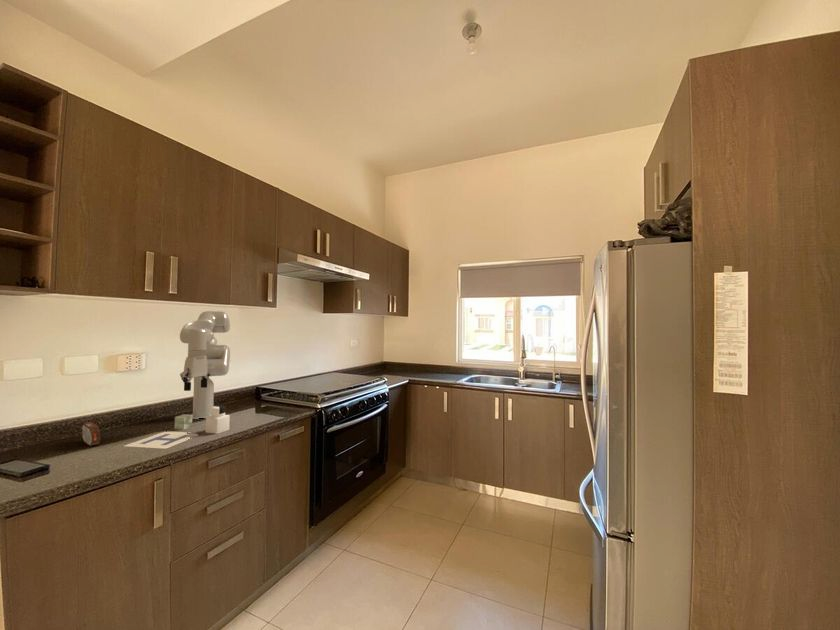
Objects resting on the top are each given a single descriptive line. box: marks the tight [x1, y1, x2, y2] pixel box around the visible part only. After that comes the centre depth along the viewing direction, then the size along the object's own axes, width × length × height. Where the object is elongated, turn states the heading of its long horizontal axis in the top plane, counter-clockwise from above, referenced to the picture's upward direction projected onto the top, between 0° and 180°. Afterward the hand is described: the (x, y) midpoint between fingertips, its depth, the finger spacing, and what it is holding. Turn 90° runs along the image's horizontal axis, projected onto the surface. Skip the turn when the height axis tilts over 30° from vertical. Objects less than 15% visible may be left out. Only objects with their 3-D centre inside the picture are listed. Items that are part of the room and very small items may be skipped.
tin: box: [81, 421, 101, 447], centre depth 142 cm, size 15×3×8 cm, turn 57°
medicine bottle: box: [205, 404, 231, 435], centre depth 160 cm, size 7×7×12 cm
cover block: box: [174, 414, 193, 431], centre depth 164 cm, size 5×5×6 cm
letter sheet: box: [124, 430, 190, 450], centre depth 148 cm, size 20×20×1 cm
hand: (195, 389), depth 163 cm, fingers open, 9 cm apart
